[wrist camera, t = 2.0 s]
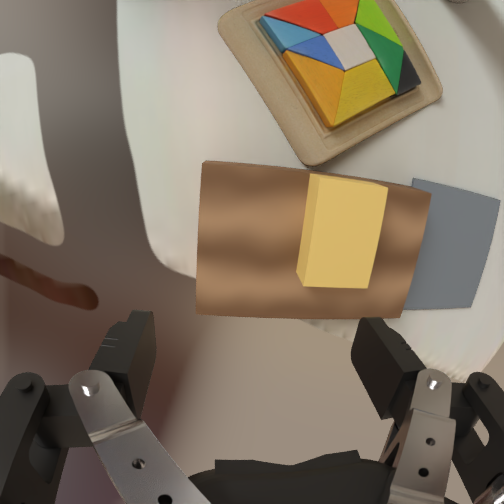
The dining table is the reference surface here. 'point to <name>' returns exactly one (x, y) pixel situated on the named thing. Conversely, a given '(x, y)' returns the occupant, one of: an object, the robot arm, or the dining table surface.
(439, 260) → the slate mat
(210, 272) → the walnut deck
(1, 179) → the dining table surface
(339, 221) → the ochre tile
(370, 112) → the wooden puzzle
